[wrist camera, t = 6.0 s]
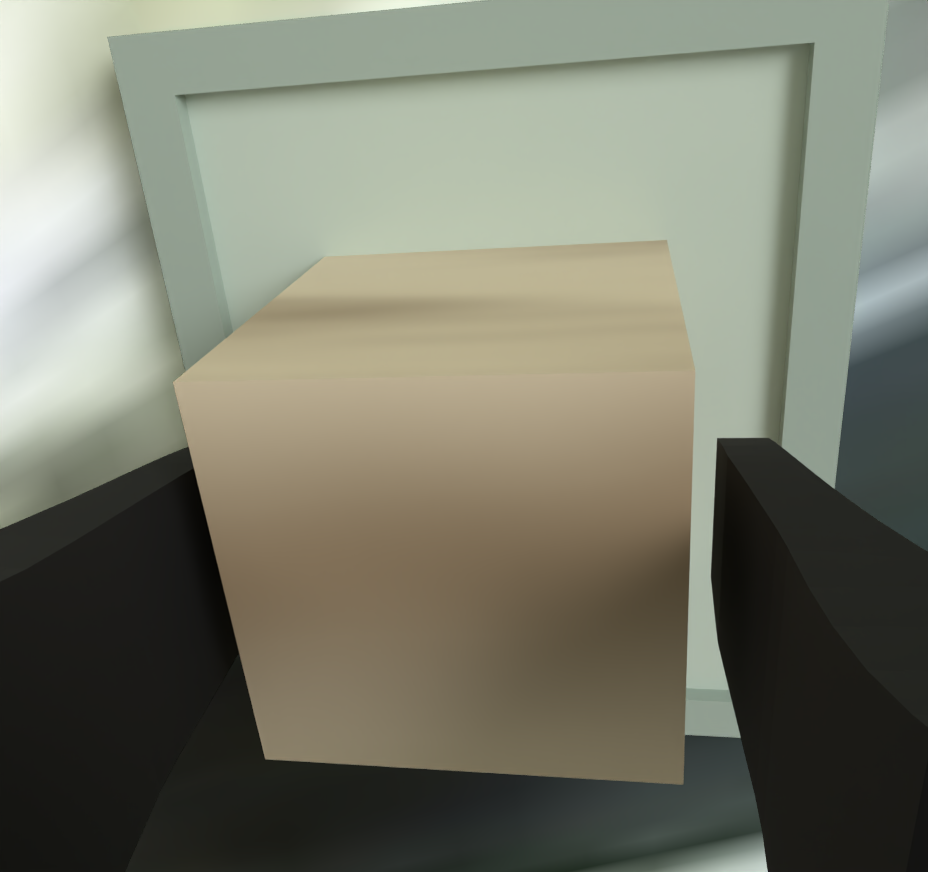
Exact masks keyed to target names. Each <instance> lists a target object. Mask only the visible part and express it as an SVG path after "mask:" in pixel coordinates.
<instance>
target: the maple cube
mask: <svg viewBox="0 0 928 872" xmlns="http://www.w3.org/2000/svg"><path fill="white" fill-rule="evenodd" d="M173 385H174V389H175V393H176V397H177V401H178V405H179V409H180V413H181V418H182V422H183V426H184V430H185V434H186V438H187V442H188V446H189V450H190V454H191V458H192V462H193V466H194V471H195V475H196V479H197V483H198V487H199V491H200V495H201V499H202V503H203V507H204V511H205V515H206V519H207V523H208V528H209V532H210V536H211V540H212V544H213V548H214V552H215V556H216V560H217V564H218V568H219V572H220V576H221V581H222V585H223V589H224V593H225V597H226V601H227V605H228V609H229V613H230V617H231V621H232V625H233V629H234V634H235V638H236V642H237V646H238V650H239V654H240V658H241V662H242V666H243V670H244V674H245V678H246V682H247V687H248V691H249V695H250V699H251V703H252V707H253V711H254V715H255V719H256V723H257V727H258V731H259V735H260V740H261V744H262V748H263V752H264V756H265V759H270V760H287V761H303V762H320V763H336V764H353V765H369V766H386V767H402V768H418V769H435V770H451V771H468V772H484V773H501V774H517V775H533V776H550V777H566V778H583V779H599V780H616V781H632V782H649V783H665V784H681V785H683V778H684V743H685V709H686V675H687V641H688V606H689V572H690V538H691V503H692V469H693V435H694V401H695V366H694V362H693V357H692V353H691V348H690V344H689V339H688V334H687V330H686V325H685V321H684V316H683V311H682V307H681V302H680V298H679V293H678V289H677V284H676V279H675V275H674V270H673V266H672V261H671V256H670V252H669V247H668V243H667V240H656V241H636V242H615V243H595V244H574V245H554V246H533V247H512V248H492V249H471V250H451V251H430V252H410V253H389V254H369V255H348V256H328V257H324V258H323V259H321V260H320V261H319V262H318V263H317V264H315V265H314V266H313V267H312V268H310V269H309V270H308V271H307V272H306V273H304V274H303V275H302V276H301V277H300V278H298V279H297V280H296V281H295V282H294V283H292V284H291V285H290V286H289V287H287V288H286V289H285V290H284V291H283V292H281V293H280V294H279V295H278V296H277V297H275V298H274V299H273V300H272V301H270V302H269V303H268V304H267V305H266V306H264V307H263V308H262V309H261V310H260V311H258V312H257V313H256V314H255V315H254V316H252V317H251V318H250V319H249V320H247V321H246V322H245V323H244V324H243V325H241V326H240V327H239V328H238V329H237V330H235V331H234V332H233V333H232V334H231V335H229V336H228V337H227V338H226V339H224V340H223V341H222V342H221V343H220V344H218V345H217V346H216V347H215V348H214V349H212V350H211V351H210V352H209V353H208V354H206V355H205V356H204V357H203V358H201V359H200V360H199V361H198V362H197V363H195V364H194V365H193V366H192V367H191V368H189V369H188V370H187V371H186V372H184V373H183V374H182V375H181V376H180V377H178V378H177V379H176V380H175V381H174V382H173Z"/></svg>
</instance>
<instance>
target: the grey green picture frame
mask: <svg viewBox="0 0 928 872" xmlns="http://www.w3.org/2000/svg"><path fill="white" fill-rule="evenodd" d="M888 8H889V0H484V1H474V2H463V3H453V4H443V5H432V6H422V7H412V8H401V9H391V10H381V11H370V12H360V13H350V14H339V15H329V16H319V17H308V18H298V19H288V20H277V21H267V22H257V23H246V24H236V25H226V26H215V27H205V28H194V29H184V30H174V31H163V32H153V33H143V34H132V35H122V36H112V37H107V38H108V42H109V47H110V51H111V55H112V59H113V64H114V68H115V72H116V76H117V81H118V85H119V89H120V94H121V98H122V102H123V106H124V111H125V115H126V119H127V123H128V128H129V132H130V136H131V141H132V145H133V149H134V153H135V158H136V162H137V166H138V171H139V175H140V179H141V183H142V188H143V192H144V196H145V200H146V205H147V209H148V213H149V218H150V222H151V226H152V230H153V235H154V239H155V243H156V247H157V252H158V256H159V260H160V265H161V269H162V273H163V277H164V282H165V286H166V290H167V295H168V299H169V303H170V307H171V312H172V316H173V320H174V324H175V329H176V333H177V337H178V342H179V346H180V350H181V354H182V359H183V363H184V367H185V371H187V370H188V369H189V368H191V367H192V366H193V365H194V364H195V363H197V362H198V361H199V360H200V359H201V358H203V357H204V356H205V355H206V354H208V353H209V352H210V351H211V350H212V349H214V348H215V347H216V346H217V345H218V344H220V343H221V342H222V341H223V340H224V339H226V338H227V337H228V336H229V335H231V334H232V333H233V332H234V331H235V330H237V329H238V328H239V327H240V326H241V325H243V324H244V323H245V322H246V321H247V320H249V319H250V318H251V317H252V316H254V315H255V314H256V313H257V312H258V311H260V310H261V309H262V308H263V307H264V306H266V305H267V304H268V303H269V302H270V301H272V300H273V299H274V298H275V297H277V296H278V295H279V294H280V293H281V292H283V291H284V290H285V289H286V288H287V287H289V286H290V285H291V284H292V283H294V282H295V281H296V280H297V279H298V278H300V277H301V276H302V275H303V274H304V273H306V272H307V271H308V270H309V269H310V268H312V267H313V266H314V265H315V264H317V263H318V262H319V261H320V260H321V259H323V258H324V257H328V256H348V255H369V254H389V253H410V252H430V251H451V250H471V249H492V248H512V247H533V246H554V245H574V244H595V243H615V242H636V241H656V240H667V243H668V247H669V252H670V256H671V261H672V266H673V270H674V275H675V279H676V284H677V289H678V293H679V298H680V302H681V307H682V311H683V316H684V321H685V325H686V330H687V334H688V339H689V344H690V348H691V353H692V357H693V362H694V366H695V401H694V435H693V469H692V503H691V538H690V572H689V606H688V641H687V675H686V709H685V735H701V736H720V737H738V738H741V736H740V732H739V728H738V724H737V720H736V716H735V712H734V708H733V704H732V700H731V696H730V692H729V688H728V684H727V679H726V675H725V671H724V667H723V663H722V659H721V655H720V650H719V646H718V641H717V632H716V623H715V614H714V604H713V594H712V584H711V559H712V537H713V516H714V494H715V472H716V450H717V438H770V439H771V440H773V441H774V442H776V443H777V444H778V445H780V446H781V447H782V448H783V449H785V450H786V451H787V452H789V453H790V454H791V455H792V456H793V457H795V458H796V459H797V460H798V461H800V462H801V463H802V464H803V465H805V466H806V467H807V468H808V469H810V470H811V471H812V472H813V473H815V474H816V475H817V476H818V477H820V478H821V479H822V480H824V481H825V482H826V483H827V484H829V485H830V486H831V487H833V488H835V479H836V470H837V461H838V452H839V443H840V434H841V426H842V417H843V408H844V399H845V390H846V381H847V372H848V363H849V355H850V346H851V337H852V328H853V319H854V310H855V301H856V292H857V284H858V275H859V266H860V257H861V248H862V239H863V230H864V221H865V213H866V204H867V195H868V186H869V177H870V168H871V159H872V150H873V142H874V133H875V124H876V115H877V106H878V97H879V88H880V79H881V71H882V62H883V53H884V44H885V35H886V26H887V17H888Z"/></svg>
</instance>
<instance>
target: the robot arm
mask: <svg viewBox="0 0 928 872" xmlns="http://www.w3.org/2000/svg"><path fill="white" fill-rule="evenodd" d="M711 584H712V594H713V604H714V614H715V623H716V632H717V641H718V646H719V650H720V655H721V659H722V663H723V667H724V671H725V675H726V679H727V684H728V688H729V692H730V696H731V700H732V704H733V708H734V712H735V716H736V720H737V724H738V728H739V732H740V736H741V740H742V745H743V749H744V753H745V757H746V761H747V765H748V769H749V773H750V777H751V781H752V785H753V789H754V793H755V797H756V802H757V807H758V813H759V818H760V823H761V828H762V833H763V840H764V847H765V854H766V862H767V869H768V872H928V552H927V551H926V550H924V549H922V548H920V547H919V546H917V545H916V544H914V543H912V542H911V541H909V540H908V539H906V538H905V537H903V536H902V535H900V534H898V533H897V532H895V531H894V530H892V529H891V528H889V527H888V526H886V525H884V524H883V523H881V522H880V521H878V520H877V519H875V518H874V517H873V516H871V515H870V514H868V513H867V512H865V511H864V510H862V509H861V508H860V507H858V506H857V505H855V504H854V503H853V502H851V501H850V500H849V499H847V498H846V497H845V496H843V495H842V494H841V493H839V492H838V491H837V490H835V489H834V488H833V487H831V486H830V485H829V484H827V483H826V482H825V481H824V480H822V479H821V478H820V477H818V476H817V475H816V474H815V473H813V472H812V471H811V470H810V469H808V468H807V467H806V466H805V465H803V464H802V463H801V462H800V461H798V460H797V459H796V458H795V457H793V456H792V455H791V454H790V453H789V452H787V451H786V450H785V449H783V448H782V447H781V446H780V445H778V444H777V443H776V442H774V441H773V440H771V439H770V438H717V450H716V472H715V494H714V516H713V537H712V559H711ZM238 653H239V650H238V646H237V642H236V638H235V634H234V629H233V625H232V621H231V617H230V613H229V609H228V605H227V601H226V597H225V593H224V589H223V585H222V581H221V576H220V572H219V568H218V564H217V560H216V556H215V552H214V548H213V544H212V540H211V536H210V532H209V528H208V523H207V519H206V515H205V511H204V507H203V503H202V499H201V495H200V491H199V487H198V483H197V479H196V475H195V471H194V466H193V462H192V458H191V454H190V450H189V447H187V448H184V449H182V450H179V451H176V452H174V453H172V454H169V455H167V456H164V457H162V458H160V459H158V460H155V461H153V462H151V463H149V464H146V465H144V466H142V467H140V468H138V469H135V470H133V471H131V472H129V473H127V474H125V475H122V476H120V477H118V478H116V479H114V480H112V481H109V482H107V483H105V484H103V485H101V486H99V487H96V488H94V489H92V490H90V491H88V492H86V493H84V494H81V495H79V496H77V497H75V498H72V499H70V500H68V501H65V502H63V503H61V504H58V505H56V506H54V507H51V508H49V509H47V510H44V511H42V512H40V513H37V514H35V515H33V516H30V517H28V518H26V519H23V520H21V521H19V522H17V523H14V524H12V525H10V526H7V527H5V528H2V529H0V872H125V871H126V869H127V866H128V864H129V861H130V859H131V857H132V854H133V852H134V850H135V847H136V845H137V843H138V841H139V838H140V836H141V834H142V832H143V829H144V827H145V825H146V823H147V820H148V818H149V816H150V814H151V811H152V809H153V807H154V804H155V802H156V800H157V798H158V795H159V793H160V791H161V789H162V787H163V785H164V783H165V781H166V779H167V777H168V776H169V774H170V772H171V770H172V768H173V766H174V764H175V762H176V760H177V758H178V757H179V755H180V753H181V752H182V750H183V748H184V746H185V745H186V743H187V741H188V739H189V738H190V736H191V734H192V733H193V731H194V729H195V727H196V726H197V724H198V722H199V721H200V719H201V717H202V715H203V714H204V712H205V710H206V708H207V707H208V705H209V703H210V702H211V700H212V698H213V696H214V695H215V693H216V691H217V690H218V688H219V686H220V684H221V683H222V681H223V679H224V678H225V676H226V674H227V672H228V671H229V669H230V667H231V665H232V664H233V662H234V660H235V658H236V657H237V655H238Z"/></svg>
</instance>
